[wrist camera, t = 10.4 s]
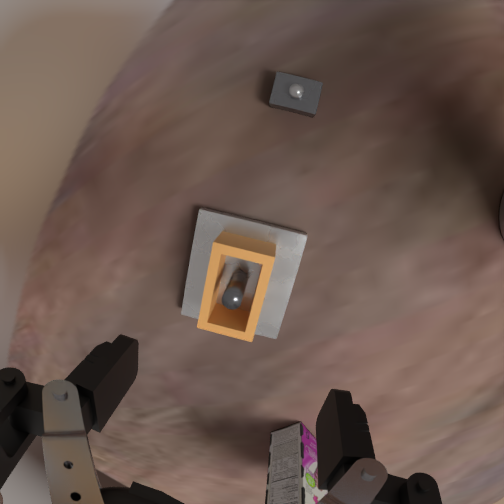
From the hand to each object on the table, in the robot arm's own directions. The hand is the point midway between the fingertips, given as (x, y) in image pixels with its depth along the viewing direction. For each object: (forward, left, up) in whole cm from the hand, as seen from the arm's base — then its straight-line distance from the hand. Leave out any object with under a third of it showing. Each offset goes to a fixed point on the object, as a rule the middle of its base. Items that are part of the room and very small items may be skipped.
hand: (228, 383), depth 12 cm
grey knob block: (0, -15, -19) cm, 24 cm away
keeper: (+1, +3, -19) cm, 19 cm away
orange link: (+1, +3, -18) cm, 18 cm away
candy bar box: (-13, +26, -19) cm, 35 cm away
